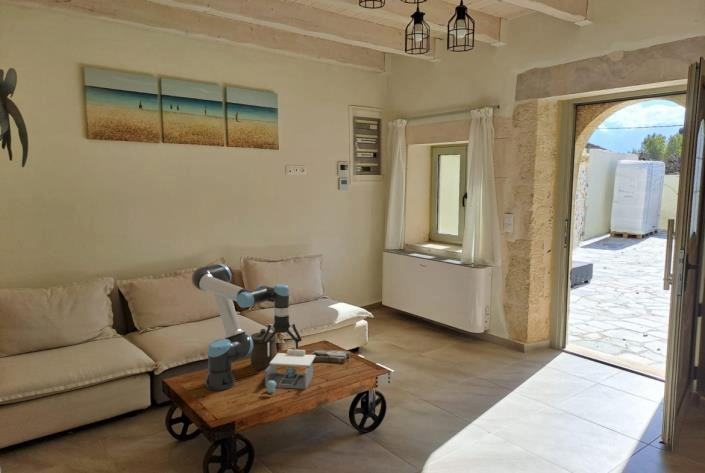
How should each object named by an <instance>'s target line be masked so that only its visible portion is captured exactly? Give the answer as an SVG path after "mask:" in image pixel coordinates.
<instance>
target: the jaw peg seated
mask: <svg viewBox="0 0 705 473" xmlns="http://www.w3.org/2000/svg"><path fill="white" fill-rule="evenodd" d="M285 372H286V373H288V378H293V379H295V374H296V373H297V369H296V366H288V367H287V368H286V370H285Z"/></svg>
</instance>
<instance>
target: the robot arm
mask: <svg viewBox="0 0 705 473" xmlns="http://www.w3.org/2000/svg"><path fill="white" fill-rule="evenodd" d="M231 281H232V272H231V270H230V268H229V267H228V266H226V265H225V264H223V263H219V264H217V263H216V264H213V265H211V264H210V265H207V266H201V267H199V268H196V269H195V270H194V271H193V272H192V276H191V283H192V285H193V287H194V288H196V289H198V290H200V291H203V292H210V293H212V294H213V297H214V300H215V303H216V307H217V309H218V313H219V316H220V320H221V322H222V325H223V329H224V332H225V336H224V338H220V339H216V340H214V341H212V342H210V343H209V344H208V346H207V358H208V362H207V363H208V365H207V366H208V373H207V377H206V380H205V388H206V389H207V390H210V391H225V390H228V389H230V388H232V387H234V386H235V384H236V379H235V376H234V373H233V371H232V362H236V361H237V360H240V359H242V358H245V357H247V356H249V355H251V352H252V349H253V340H252V338H251V335H249V334H247V333H246V331H245V330H243V329H242V327H241V324H240V320H239V318H238V317H239V316H238V315H237V312H236V309H235V304H234V301H235V302H236V303H237V305H238V306H239V307H240V308H242V309H245V308H250V307H252V306H255V305H259V304H261V303H266V302H270V303H274V304H273V307H274V308H273V310H274V311H273V314H274V315H273V318H274V319H273V321H274V322H273V324H271V323H268V324H267V329H266V333H265V335H264V337H263V339H262V343H265V349H268V356H269V341H270V340H271V339H272V337H273V336H274V335H276V334H277V333H278V334H282V333H283V334H285V333H287V334H288V335H289V336H290V338H292V340H293V350H294V355H296V350H297V349H298V348H299V343H300V342H301V341H302V337H301V335H300V332H298V329H297V327H296V323H295V322H293V323H290V315H289V314H290V287H289V286H288V285H287V284H282V283H281V284H276V285H274V287H272V286H268V285H258V286H257V287H256V288H255V289H251V290H249V289H247V288H243V287H241V286H238V285H235V284H232V283H230V282H231ZM290 328H291V329H293V331H294V333H295V335H296V336H295V335H294V333H292V331H291V330H290ZM272 329H274V330H273V331H272V332H271V333H272V334H271V335H270V336H269V337H268V338H267V339H266V337H267V335H268V333H269V332H270V331H271V330H272ZM265 339H266V340H265Z"/></svg>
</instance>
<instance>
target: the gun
mask: <svg viewBox="0 0 705 473" xmlns="http://www.w3.org/2000/svg"><path fill="white" fill-rule="evenodd" d="M308 355H316V357H315V358H314V360H313V363H314V362H323V363H324V362H325V363H340V364H345V362H346V359H350V358H351V351H347V350H346V351H345V350H330V349H329V350H328V349H315V350H314V349H313V350H312V352H310V353H309V354H308ZM349 357H350V358H349Z"/></svg>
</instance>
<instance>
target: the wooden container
mask: <svg viewBox="0 0 705 473" xmlns="http://www.w3.org/2000/svg"><path fill="white" fill-rule="evenodd" d="M259 331H260V332H256V333H255V332H254V333H253V334H251V335H250V337H251V338H252V340H253V349H252V352H251V353H250V366H251V368H252V369H254V370H258V371H262V370H264V369H267V368H268V366H269V365H270V362H271V361H272V360H273V358H274V357H275V356H276V355H277V342H276V340H277V336H276V334H275V335H274V336H273V337H272V339H271V340H270V341H269V356H268V349H265V343H262V339H263V337H264V335H265V333H266V331H267V329H265V328H261V329H260V330H259ZM271 334H272V332H270V331H269V333H268V335H267V337H266V339H267V338H268V337H269V336H270V335H271ZM266 339H265V340H266Z"/></svg>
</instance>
